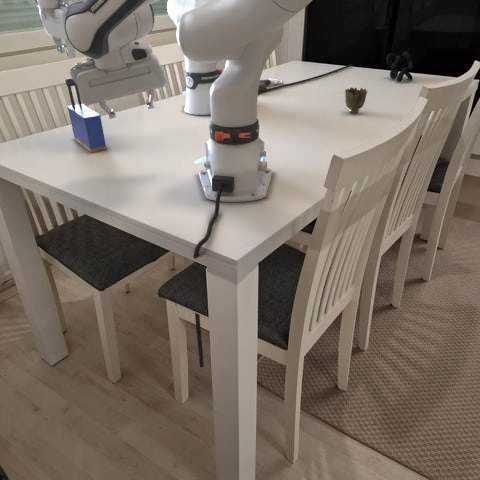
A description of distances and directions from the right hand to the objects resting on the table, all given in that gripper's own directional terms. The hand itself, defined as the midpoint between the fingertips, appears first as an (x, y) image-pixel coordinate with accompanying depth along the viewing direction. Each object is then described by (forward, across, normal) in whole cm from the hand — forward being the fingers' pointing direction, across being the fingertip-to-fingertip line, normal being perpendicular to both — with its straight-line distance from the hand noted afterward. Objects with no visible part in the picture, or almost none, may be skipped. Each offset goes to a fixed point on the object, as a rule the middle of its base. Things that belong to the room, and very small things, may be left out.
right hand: (132, 112), depth 109 cm
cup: (+31, +71, +34) cm, 85 cm away
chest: (+15, -18, +25) cm, 34 cm away
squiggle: (+42, +111, +76) cm, 141 cm away
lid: (+6, -16, +26) cm, 31 cm away
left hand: (-9, -16, +32) cm, 37 cm away
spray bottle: (+31, +48, +78) cm, 96 cm away
